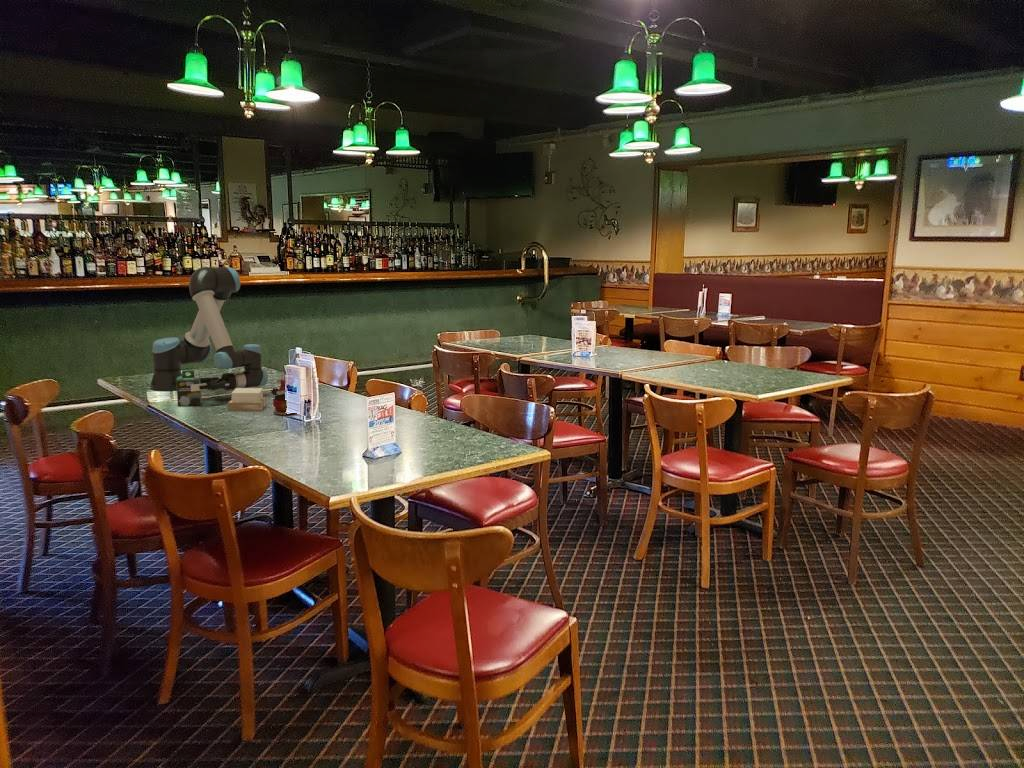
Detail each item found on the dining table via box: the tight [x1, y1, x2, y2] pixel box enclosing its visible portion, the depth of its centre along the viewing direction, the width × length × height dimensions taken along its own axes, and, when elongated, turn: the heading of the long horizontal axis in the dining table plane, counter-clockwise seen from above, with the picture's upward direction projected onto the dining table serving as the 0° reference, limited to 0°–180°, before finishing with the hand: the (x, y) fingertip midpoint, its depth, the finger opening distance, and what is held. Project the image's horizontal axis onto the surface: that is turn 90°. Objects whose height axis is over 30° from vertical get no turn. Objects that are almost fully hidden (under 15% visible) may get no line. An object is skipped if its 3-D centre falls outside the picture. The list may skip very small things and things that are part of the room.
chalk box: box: [176, 369, 203, 407], centre depth 315 cm, size 9×9×15 cm
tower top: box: [231, 387, 264, 402], centre depth 313 cm, size 11×11×4 cm
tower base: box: [227, 396, 267, 412], centre depth 313 cm, size 13×13×4 cm
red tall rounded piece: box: [270, 369, 287, 416], centre depth 304 cm, size 11×9×18 cm
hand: (184, 386), depth 314 cm, fingers closed on chalk box, 12 cm apart
